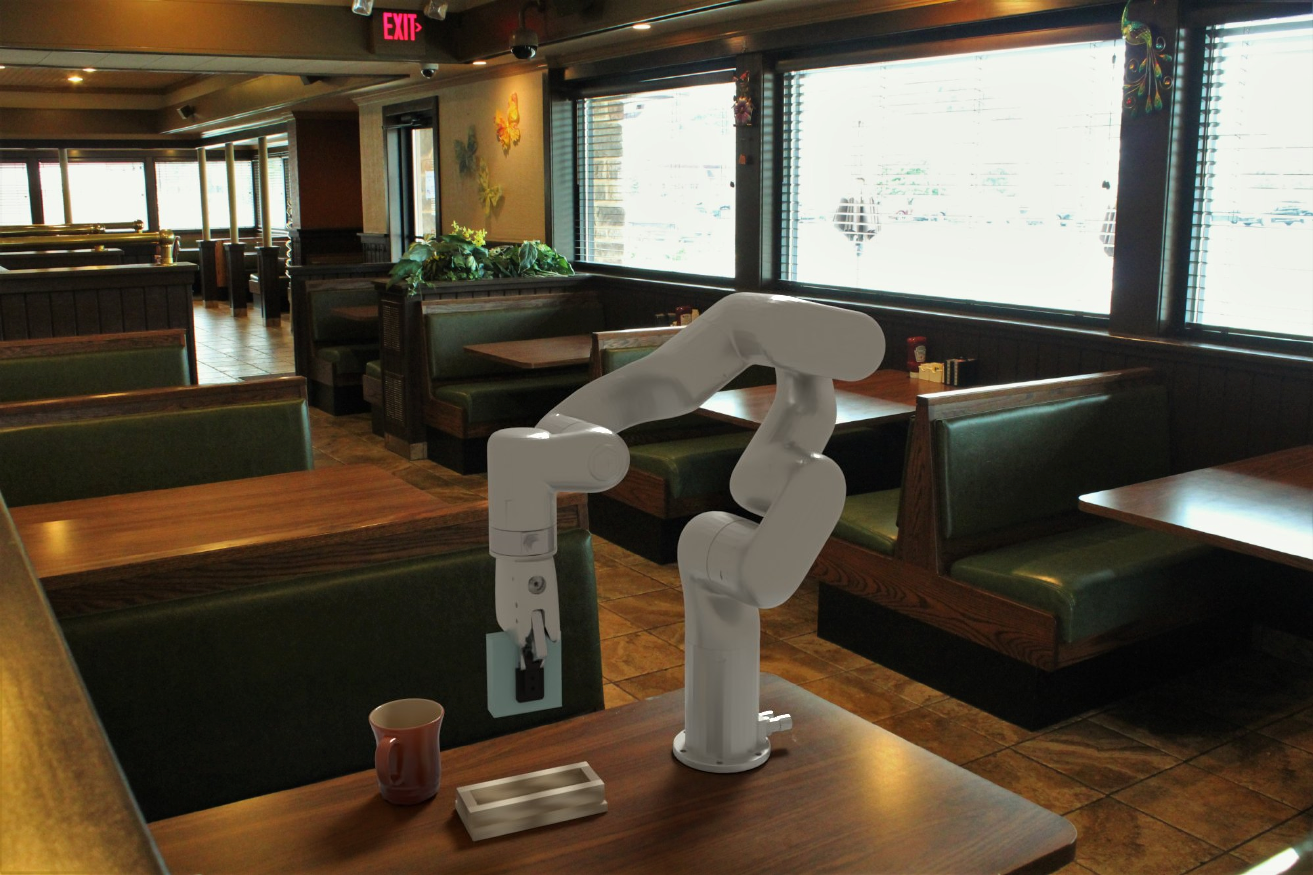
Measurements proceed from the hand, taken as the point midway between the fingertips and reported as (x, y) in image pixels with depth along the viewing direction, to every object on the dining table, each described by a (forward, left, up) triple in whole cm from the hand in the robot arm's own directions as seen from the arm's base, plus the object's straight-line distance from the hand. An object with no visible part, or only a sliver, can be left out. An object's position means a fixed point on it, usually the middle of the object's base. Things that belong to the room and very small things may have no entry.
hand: (525, 693), depth 130 cm
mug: (+13, -9, -15) cm, 21 cm away
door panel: (0, 0, -2) cm, 2 cm away
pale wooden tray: (0, 0, -14) cm, 14 cm away
